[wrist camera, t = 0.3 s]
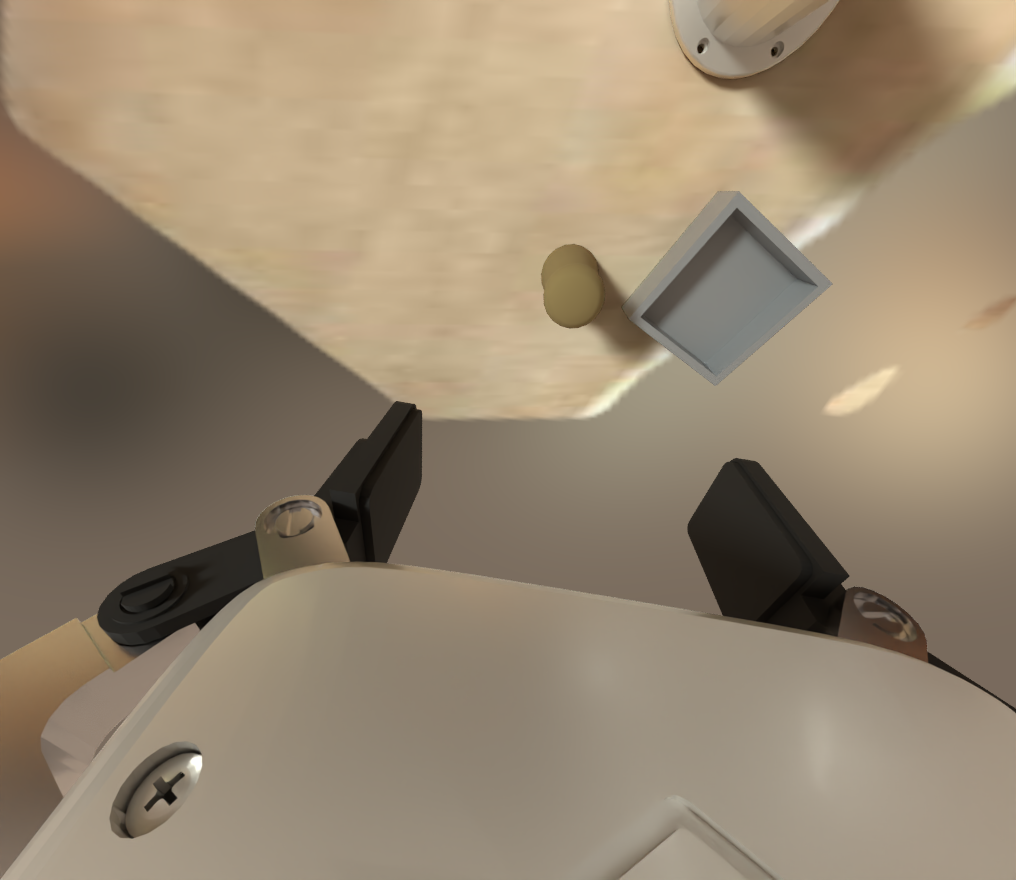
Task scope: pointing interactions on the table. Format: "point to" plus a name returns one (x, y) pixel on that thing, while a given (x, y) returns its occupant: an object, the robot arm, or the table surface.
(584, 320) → the cork
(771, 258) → the box
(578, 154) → the table surface
